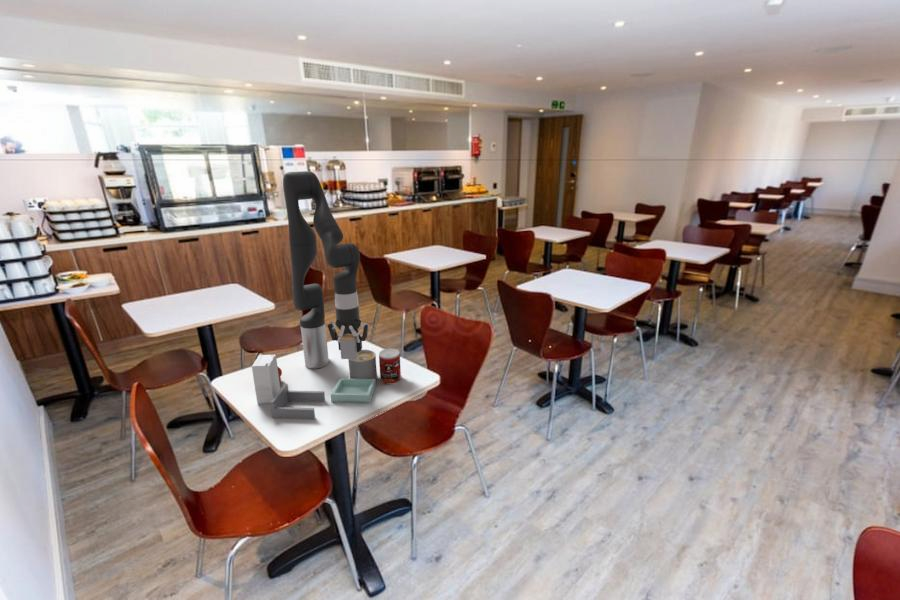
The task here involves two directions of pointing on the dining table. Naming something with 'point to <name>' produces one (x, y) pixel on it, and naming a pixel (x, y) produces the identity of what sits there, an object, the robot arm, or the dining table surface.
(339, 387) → the tray
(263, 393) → the skincare box
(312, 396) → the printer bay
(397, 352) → the canned food
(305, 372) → the dining table surface
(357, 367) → the coffee mug
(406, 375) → the dining table surface
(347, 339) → the grey block tan panel
